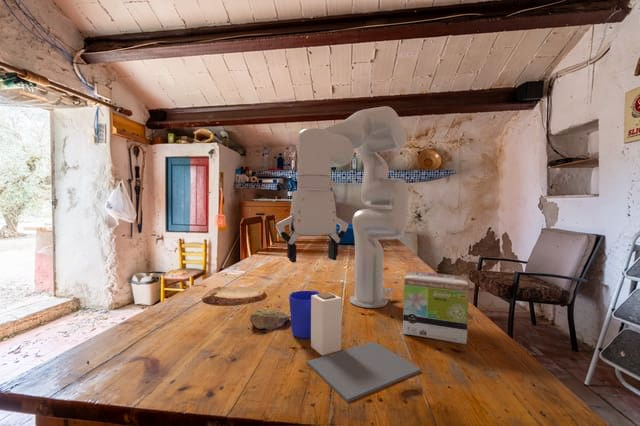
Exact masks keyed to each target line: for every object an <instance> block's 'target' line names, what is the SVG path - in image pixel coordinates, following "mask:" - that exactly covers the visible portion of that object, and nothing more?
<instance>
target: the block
mask: <svg viewBox="0 0 640 426" xmlns="http://www.w3.org/2000/svg"><path fill="white" fill-rule="evenodd" d="M342 301H343V300H342V297H340V296H338V295H336V294H334V293H331V292H322V293H320V294H317V295H311V338H310V347H311V348H312V349H313V350H315V351H316V352H317V353H318V354H319V355H321V357H323V356H326V355H329V354H333V353H336V352H339V351H342V303H343V302H342Z"/></svg>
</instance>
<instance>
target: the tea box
mask: <svg viewBox="0 0 640 426" xmlns="http://www.w3.org/2000/svg"><path fill="white" fill-rule="evenodd" d="M405 273H406V274H405V277H404V284H403V309H402V310H403V311H402V334H403V335H411V336H416V337H422V338H429V339H434V340H440V341H445V342H450V343H456V344H460V343H461V345H466V344H467V342H468V341H467V340H468V330H469V329H468V326H469V321H468V320H469V297H470V293H469V292H470V284H469V283H468V281H467V279H466V277H465V275H457V274H446V273H445V274H444V273H434V272H426V271H425V272H424V271H413V270H406V272H405Z"/></svg>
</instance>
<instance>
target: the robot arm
mask: <svg viewBox="0 0 640 426" xmlns="http://www.w3.org/2000/svg"><path fill="white" fill-rule="evenodd" d="M406 143H407V131H406V129H405V126H404V125H403V122H402V121H401V119H400V117H399V115H398V113H397V112H396V111H395V109H393V108H392V107H390V106H379V107H373V108H366V109H365V108H364V109H361V110H358V111H356V112H354V113H353V114H351V115H350V116H348V117H347V118H346V119H344V120H343V121H340V122H337V123H335V124H332V125H329V126H327V127H325V128H319V127H309V128H304V129H302V130H301V131H299V133H298V135H297V150H296V155H297V156H296V157H297V177H296V181H297V184H296V186H297V187H296V190H293V192H292V197H291V204H290V211H289V216H287V217H286V218H284V219H283V220H280V221H278V222H276V223H275V224H274V225H275V228H276V230H277V232H278V234H279V236H280V237H281V239H283V241H285V243H286V245H287V248H286V249H287V250H286V251H287V253H286V257H287V258H288V259H289V262H291V263H292V264H293V263H297V244H296V243H295V242H296V241H297V239H299V237H300V236H327V237H328V238H329V240H330V241H328V249H327V250H328V251H327V252H328V253H327V255H328V259H330V260H333V261H336V260H337V257H338V254H339V243H340V241H341V240H342V238H343V237H344V236H345V234H346V232H347V230H348V227H349V223H348V222H346V221H344V220H343V219H342V218H340V217H338V216H337V210H336V209H337V207H336V201H335V196H334V191H331V190H332V188H333V187H336V185H337V182H336V180H332V177H331V175H332V172H331V169H332V168H337V167H344V166H347V165H348V164H350V163H351V162H352V160H353V159H354V156H355V149H358V152H359V156H360V158H361V160H362V164H363V174H362V175H363V176H362V181H361V182H362V184H361V191H360V202H361V203H362V204H363V205H365V206H367V207H377V208H363V209H359V210H357V211H356V212H355V213H354V214H353V216H352V222H351V223H352V224H351V225H352V229H353V231H352V232H353V237H354V294H352V295H351V296H350V297H349V302H350V303H351V304H352V305H354V306H356V307H359V308H367V309H368V308H369V309H376V308H377V309H378V308H383V307H385V306H387V305H388V298H387V297H386V296H387V295H390V294H391V295H392V294H393V293H394V290H393V288H391V287H390V288H385V287H384V249H383V247H382V244H381V243H380V242H379V240H378V239H391V240H392V239H394V240H395V239H397V240H398V239H400V238H402V237H403V236H404V235H405V232H406V227H407V217H408V206H409V186H408V184H407V182H406V181H405V180H404V179H402V178H397V177H396V178H393V177H392V178H388V175H389V165H388V163H387V162H386V161H385V159H384V158H383V157H382V156H381V155H380V154H379V153H381V152H382V153H383V152H396V151H400V150H402V149H404V148H405V146H406ZM379 207H382V208H379ZM383 207H384V209H383ZM385 207H386V208H385ZM388 207H389V208H391V209H388ZM288 225H289V226H288ZM337 225H338V226H339V230H337ZM286 226H288V227H289V232H290V233H289V234H288V233H287V232H286V231H285V227H286ZM336 231H337V232H336Z"/></svg>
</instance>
